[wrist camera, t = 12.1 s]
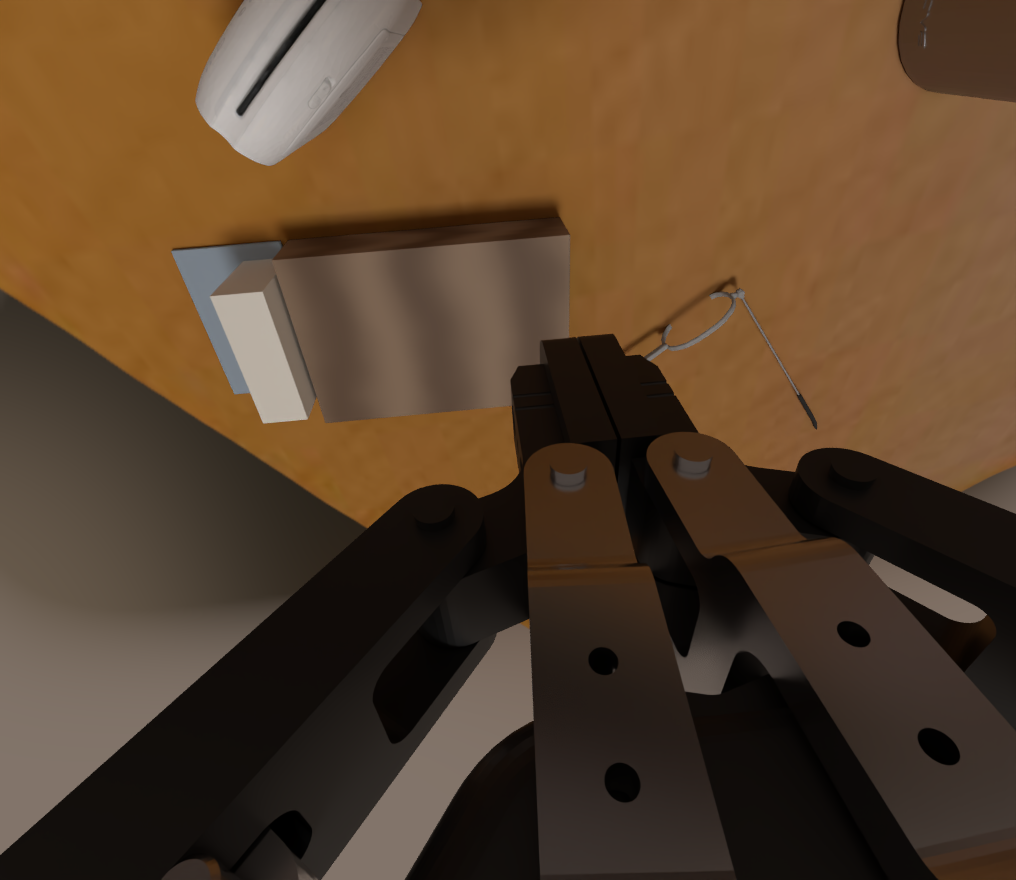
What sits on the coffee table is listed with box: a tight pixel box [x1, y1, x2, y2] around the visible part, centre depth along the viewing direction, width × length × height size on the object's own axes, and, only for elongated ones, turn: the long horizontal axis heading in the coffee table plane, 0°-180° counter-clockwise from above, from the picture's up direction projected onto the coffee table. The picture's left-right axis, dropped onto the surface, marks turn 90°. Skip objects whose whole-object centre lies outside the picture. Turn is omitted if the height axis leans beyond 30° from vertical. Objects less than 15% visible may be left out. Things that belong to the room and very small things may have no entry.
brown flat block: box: [272, 217, 570, 423], centre depth 37 cm, size 18×12×4 cm, turn 94°
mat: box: [171, 241, 283, 394], centre depth 38 cm, size 7×11×1 cm, turn 4°
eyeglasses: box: [644, 288, 817, 429], centre depth 46 cm, size 18×19×4 cm
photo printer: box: [196, 0, 422, 166], centre depth 24 cm, size 10×4×12 cm, turn 131°
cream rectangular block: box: [210, 259, 317, 423], centre depth 35 cm, size 6×9×3 cm
